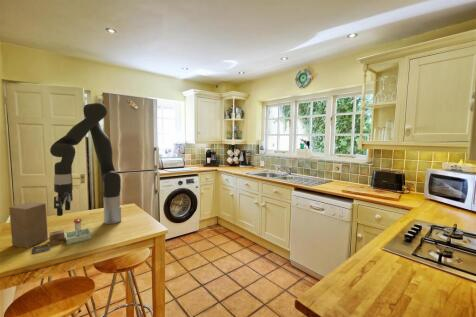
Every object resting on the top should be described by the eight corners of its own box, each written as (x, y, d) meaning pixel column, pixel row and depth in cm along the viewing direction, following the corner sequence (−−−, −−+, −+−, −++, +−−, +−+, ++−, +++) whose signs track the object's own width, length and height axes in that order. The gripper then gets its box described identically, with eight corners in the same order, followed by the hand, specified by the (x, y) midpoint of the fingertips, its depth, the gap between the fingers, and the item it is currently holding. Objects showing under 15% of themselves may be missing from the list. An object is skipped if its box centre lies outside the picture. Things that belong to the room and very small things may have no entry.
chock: (63, 238, 122) (63, 229, 122) (64, 241, 119) (64, 232, 118) (49, 241, 118) (49, 232, 118) (49, 245, 115) (49, 235, 114)
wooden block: (27, 248, 111) (24, 209, 108) (11, 245, 113) (8, 207, 110) (48, 239, 120) (46, 203, 118) (33, 236, 122) (30, 201, 120)
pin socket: (50, 244, 115) (49, 243, 115) (50, 249, 110) (50, 248, 110) (33, 248, 111) (33, 247, 111) (33, 253, 106) (33, 252, 106)
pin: (82, 235, 125) (81, 218, 124) (82, 237, 122) (81, 220, 121) (74, 237, 123) (73, 219, 121) (75, 239, 120) (73, 221, 119)
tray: (89, 232, 130) (88, 227, 129) (91, 239, 122) (91, 233, 122) (65, 237, 123) (64, 232, 122) (66, 245, 115) (66, 239, 115)
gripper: (61, 179, 122) (62, 208, 123) (47, 185, 108) (47, 218, 109) (77, 179, 124) (77, 208, 125) (65, 185, 110) (65, 217, 111)
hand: (63, 212), depth 117 cm, fingers open, 8 cm apart
